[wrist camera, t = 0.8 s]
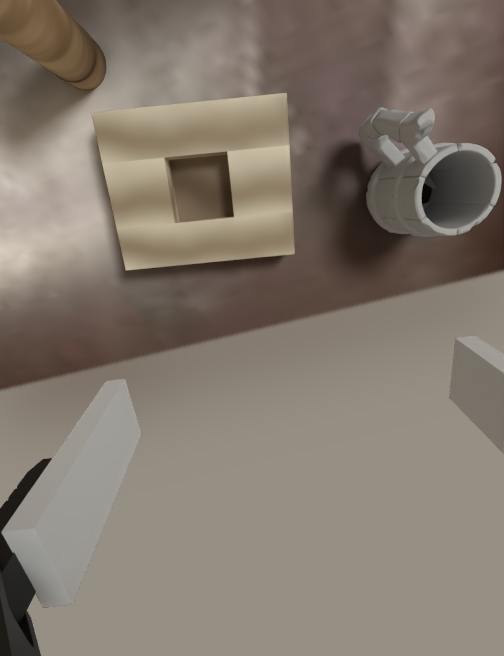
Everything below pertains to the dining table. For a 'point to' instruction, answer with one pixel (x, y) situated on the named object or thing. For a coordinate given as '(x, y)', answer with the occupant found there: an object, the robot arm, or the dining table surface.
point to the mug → (426, 177)
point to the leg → (53, 40)
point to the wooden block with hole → (199, 180)
